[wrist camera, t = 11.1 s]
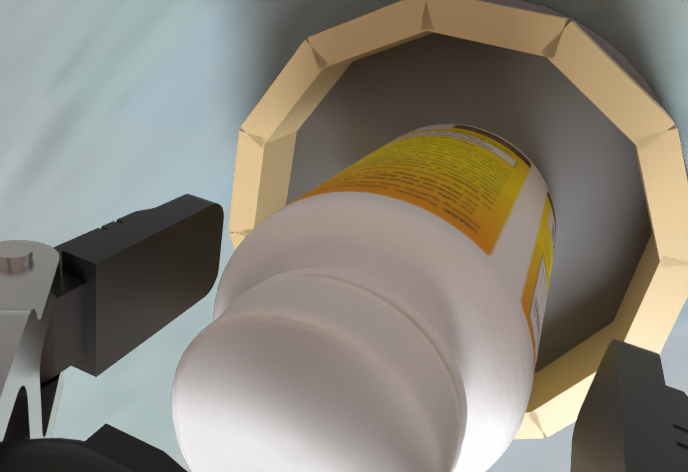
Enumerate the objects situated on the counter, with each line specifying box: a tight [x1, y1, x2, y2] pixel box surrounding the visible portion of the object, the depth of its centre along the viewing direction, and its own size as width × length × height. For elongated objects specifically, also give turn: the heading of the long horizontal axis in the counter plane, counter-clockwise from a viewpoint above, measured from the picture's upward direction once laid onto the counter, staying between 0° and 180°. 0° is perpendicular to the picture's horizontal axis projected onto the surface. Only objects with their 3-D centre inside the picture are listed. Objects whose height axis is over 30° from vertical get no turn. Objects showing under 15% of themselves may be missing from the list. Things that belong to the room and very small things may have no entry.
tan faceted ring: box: [229, 0, 688, 439], centre depth 16 cm, size 12×12×3 cm
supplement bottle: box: [171, 123, 556, 472], centre depth 12 cm, size 6×6×10 cm
